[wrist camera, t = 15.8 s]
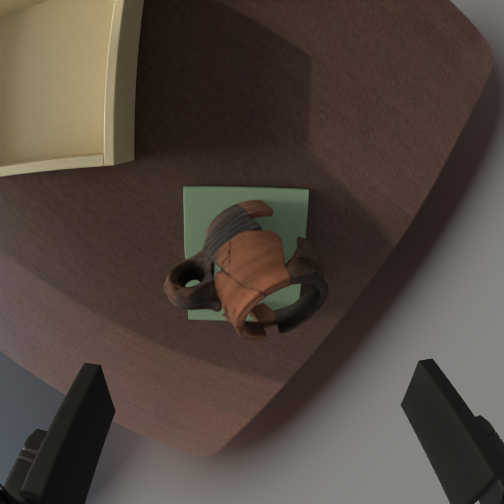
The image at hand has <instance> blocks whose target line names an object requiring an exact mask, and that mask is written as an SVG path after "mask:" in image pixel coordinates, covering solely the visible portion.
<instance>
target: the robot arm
mask: <svg viewBox="0 0 504 504" xmlns="http://www.w3.org/2000/svg"><path fill="white" fill-rule="evenodd" d="M401 406H402V408H403V410H404V412H405V414H406V416H407V418H408V420H409V422H410V423H411V425H412V427H413V429H414V431H415V433H416V435H417V437H418V439H419V441H420V443H421V445H422V447H423V449H424V450H425V453H426V454H427V457H428V458H429V460H430V463H431V465H432V467H433V469H434V471H435V473H436V475H437V477H438V479H439V481H440V483H441V485H442V487H443V489H444V491H445V493H446V496H447V498H448V500H449V502H450V504H474V503H475V502H476V501H478V500H479V502H480V504H504V443H503V441H502V440H501V439H500V437H499V435H498V434H497V433H495V430H494V428H493V427H492V426H491V424H490V422H488V421H487V420H486V419H484V418H483V417H482V416H481V415H479V416H476V417H475V416H474V415H473V413H472V412H471V411H470V409H469V408H468V406H467V405H466V403H465V402H464V400H463V399H462V398H461V396H460V395H459V394H458V392H457V391H456V389H455V388H454V387H453V385H452V384H451V383H450V381H449V380H448V379H447V377H446V376H445V375H444V373H443V372H442V371H441V369H440V368H439V367H438V365H437V364H436V363H435V361H434V360H433V359H426V360H421V361H418V364H417V367H416V369H415V372H414V374H413V377H412V379H411V382H410V385H409V387H408V389H407V392H406V394H405V396H404V399H403V401H402V403H401ZM114 414H115V408H114V405H113V402H112V399H111V396H110V393H109V390H108V387H107V384H106V381H105V378H104V374H103V371H102V368H101V365H97V364H89V363H84V364H83V366H82V368H81V370H80V371H79V373H78V375H77V377H76V379H75V380H74V382H73V384H72V386H71V388H70V389H69V391H68V393H67V395H66V397H65V399H64V401H63V402H62V404H61V406H60V408H59V410H58V412H57V414H56V416H55V418H54V420H53V422H52V424H51V426H50V428H49V430H48V432H47V431H43V430H40V429H37V430H35V431H34V432H33V433H32V434H31V435H30V436H29V437H28V438H27V440H26V442H25V444H24V446H23V450H21V452H20V454H19V458H17V460H16V462H15V464H14V466H13V468H12V470H11V472H10V474H9V477H8V479H7V481H6V483H5V485H4V487H3V486H2V485H1V484H0V504H85V501H86V498H87V494H88V491H89V488H90V485H91V482H92V479H93V475H94V472H95V469H96V466H97V463H98V460H99V457H100V454H101V451H102V448H103V445H104V442H105V439H106V436H107V433H108V431H109V428H110V425H111V422H112V419H113V417H114Z"/></svg>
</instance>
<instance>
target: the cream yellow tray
mask: <svg viewBox="0 0 504 504" xmlns="http://www.w3.org/2000/svg"><path fill="white" fill-rule="evenodd" d="M143 4H144V0H0V177H3V176H10V175H17V174H25V173H33V172H42V171H51V170H61V169H72V168H84V167H97V166H113V165H117V164H121V163H125V162H129V161H133V160H134V122H135V93H136V75H137V61H138V49H139V38H140V28H141V20H142V12H143Z"/></svg>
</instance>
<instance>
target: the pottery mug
mask: <svg viewBox="0 0 504 504" xmlns="http://www.w3.org/2000/svg"><path fill="white" fill-rule="evenodd" d="M272 215H273V209H272V208H271V207H270V206H268V205H267V204H266V203H264V202H263V201H262V200H249V201H244V202H240V203H238V204H235V205H232V206H230V207H229V208H227V209H225V210H223V211H222V212H221V213H220V214H219V215H217V216H216V217H215V218H214V219H213V220H212V222H211V223H210V225H209V227H208V229H207V231H206V234H205V240H204V244H203V248H202V250H201V251H199V252H198V253H197V254H196V255H194V256H192V257H190V258H188V259H186V260H183V261H181V262H179V263H178V264H176V265H175V266H174V267H173V268H172V269H171V270H170V271H169V273H168V275H167V277H166V279H165V283H164V285H163V288H164V291H165V292H166V293H167V295H168V297H169V301H170V302H171V303H172V304H174V305H175V306H177V307H178V308H181V309H184V310H202V309H209V310H213V311H215V312H219V311H221V309H223V311H224V312H225V313H223V314H222V316H223V317H224V318H225V319H226V320H227V321H229V322H230V323H232V324H233V325H234V328H235V331H236V332H237V333H238V334H239V335H240V336H242V337H243V338H247V339H255V340H259V339H264V338H265V337H266V332H265V330H264V328H268V327H271V326H274V325H276V324H277V325H278V329H279V333H280V334H281V333H287V332H289V331H291V330H293V329H295V328H296V327H298V326H300V325H301V324H303V323H304V322H305V321H307V320H308V319H309V318H311V317H312V316H313V315H314V314H315V312H316V311H317V310H318V309H319V308H320V307H321V306H322V305H323V302H324V301H325V299H326V297H327V294H328V285H327V283H326V281H325V280H324V279H323V277H324V262H323V257H322V256H320V257H319V258H317V255H316V253H315V252H314V250H313V248H312V244H311V242H310V241H309V240H307V239H305V238H303V237H298V238H297V247H298V248H297V249H296V250H295V253H294V254H293V256H292V258H291V259H290V260H289V261H288V262H287V263H286V264H285V262H284V261H285V258H284V254H283V246H282V240H281V237H279V236H278V235H277V234H276V233H275V232H273V231H271V230H261V227H260V226H259V225H258V224H257V223H256V222H255V221H254V220H253V218H257V217H265V216H272ZM214 263H216V265H217V266H218V267H219V268H221V270H220V271H218V272H217V273H216V274H215V276H214ZM192 280H198V281H199V282H200V283H199V284H197V285H195V286H191V287H185V285H186V284H187V283H188V282H190V281H192ZM302 283H308V284H312V288H311V290H310V289H309V290H308V291H307V292H305V294H304V295H303V296H302V297H301V298H300V299H299V300H297V301H296V302H295V303H293V304H291V305H289V306H286V307H283V308H280V309H276V310H272V309H271V308H270V307H268V306H267V305H266V304H264V303H260V304H258V303H259V302H261V301H262V300H263V299H264V298H265V297H266V296H268V295H271V294H272V293H274V292H276V291H278V290H280V289H283V288H285V287H288V286H290V285H295V284H302ZM257 304H258V305H257ZM248 314H249V315H250V317H252V318H253V319H254V321H255V322H245V320H246V318H247V316H248Z"/></svg>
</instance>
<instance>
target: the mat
mask: <svg viewBox="0 0 504 504" xmlns="http://www.w3.org/2000/svg"><path fill="white" fill-rule="evenodd" d="M249 200H262V201H263V202H264V203H266V204H267V205H268V206H270V207H271V208H272V209H273V215H272V216H265V217H257V218H253V220H254V221H255V222H256V223H257V224H258V225H259V226H260V227H261V230H271V231H273V232H275V233H276V234H277V235H278V236H279V237H281V240H282V246H283V254H284V258H285V261H284V262H285V264H286V263H287V262H288V261H289V260H290V259H291V258H292V256H293V254H294V253H295V250H296V249H297V248H298V247H297V238H298V237H303V238H306V227H307V214H308V202H309V190H308V189H299V188H276V187H242V186H184V238H185V260H186V259H188V258H190V257H192V256H194V255H196V254H197V253H198V252H199V251H201V250H202V248H203V244H204V240H205V234H206V231H207V229H208V227H209V225H210V223H211V222H212V220H213V219H214V218H215V217H216V216H217V215H219V214H220V213H221V212H222V211H223V210H225V209H227V208H229V207H230V206H232V205H235V204H238V203H240V202H244V201H249ZM220 270H221V268H219V267H218V266H217V265H216V263H214V276H215V274H216V273H217V272H218V271H220ZM199 283H200V282H199V281H198V280H192V281H190V282H188V283H187V284H186V287H191V286H195V285H197V284H199ZM300 289H301V284H295V285H290V286H288V287H285V288H283V289H280V290H278V291H276V292H274V293H272V294H271V295H268V296H266V297H265V298H264V299H263V300H262V301H261V302H259V303H258V304H260V303H264V304H266V305H267V306H268V307H270V308H271V309H272V310H276V309H280V308H283V307H286V306H289V305H291V304H293V303H295V302H296V301H297V300H299V298H300ZM258 304H257V305H258ZM223 313H225V312H224V311H223V309H221V311H219V312H215V311H213V310H209V309H202V310H188V319H189V320H226V319H225V318H224V317H223V316H222V314H223ZM246 320H254V319H253V318H252V317H250V315H249V314H248V316H247V318H246Z"/></svg>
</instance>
